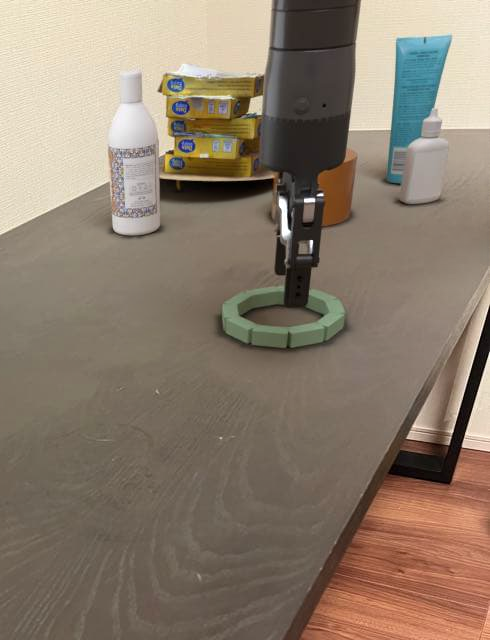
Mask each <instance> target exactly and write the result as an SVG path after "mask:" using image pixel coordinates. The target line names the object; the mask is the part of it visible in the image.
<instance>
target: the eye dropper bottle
mask: <svg viewBox="0 0 490 640" xmlns="http://www.w3.org/2000/svg"><path fill="white" fill-rule="evenodd" d="M442 124H443V118H440V117H439V111H438V107H434V108H432V110H431V113H430V116H429V117H428V118H426V119H424V120H423V126H422V132H421V136H422V137H421V138H419V139H417V140H415V141H413V142H412V143H411V144H410V145H409V146H408V148H407V152H406V158H405V164H404V170H403V176H402V182H401V184H400V187H399V188H400V189H399V195H398V200H399V201H400V202H401V203H403V204H406V205H419V204H420V205H421V204H427V203H428V204H429V203H431V202H435V201H438V200H439V199H440V197H441V193H442V189H443V184H444V178H445V172H446V167H447V163H448V162H447V161H448V155H449V149H450V142H449V141H448V140H447V139H445V138H443V137H440V136H441V135H440V134H441V129H442Z"/></svg>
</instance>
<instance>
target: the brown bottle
mask: <svg viewBox="0 0 490 640" xmlns="http://www.w3.org/2000/svg"><path fill="white" fill-rule="evenodd" d="M357 162H358V152H357V151H356V150H354V149H352V148H349V147H347V149H346V157H345V160H344V162H343V163H342V164H341V165H340V166H339V167H337V168H335V169H332V170H325V171H323V172H321V173H320V174H319V175H318V182H319V190H323V193H324V200H325V206H324V211H323V221H322V227H329V226H332V225H333V226H334V225H337V224H340V223H343V222H345V221H347V220H348V219H349V218H350V216H351V211H352V202H353V193H354V186H355V176H356V170H357ZM277 175H278V172H274V178H272V179H273V180H272V181H273V182H272V195H271V196H272V197H271V210H270V211H271V212H270V213H271V214H270V217H271V219H272V220H273V215H274V211H273V210H274V204H275V197H274V190H275V185H276V184H277Z"/></svg>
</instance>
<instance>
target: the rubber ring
mask: <svg viewBox="0 0 490 640" xmlns="http://www.w3.org/2000/svg"><path fill="white" fill-rule="evenodd" d="M284 286H285V285H278V286H277V287H276V286H275V285H272V286H271V285H270V286H266V287H260V288H254V289H249V290H244V291H240V292H239V293H237V294H235V295H234V296H232V297H231V298H229V299H228V300H225V301H224V302H223V304H222V306H221V307H222V309H221V310H222V311H221V319H222V320H221V321H222V327H223V328H222V329H223V332H225V334H227V335H228V336H230V337H233V338H234V339H236V340H238V341H240V342H243V343H244V344H247V345H248V344H250V345H251V346H259V347H268V348H280V349H286V348H287V347H289V348H290V349H293V348H298V347H305V346H309V345H315V344H321V343H323V342H324V341H325V342H328V341H329V340H330V339H331V338H333V337H334V336H335V335H336V334H338V333H339V332H340V331H342V330H343V329H344V326H345V320H346V311H345V308H344V306H343V304H342V300H341V299H338V297H336V296H334V295H331V294H329V293H326V292H324V291H321V290H319V289H316V288H312V289H311V287H310V288H309V297H308V304H307V305H306V306H305V307H304V308H306V309H308V310H311V311H314V312H316V313H319V314H321V315H323V316H322V317H321V318H319V319H318V320H317V321H315V322H311V323H306V324H300V325H294V326H289V327H288V326H275V325H264V324H258V323H255V322H253V321H252V320H249V319H247V318H244V317H243V316H242V315H244V314H245V313H248V311H250V310H252V309H257V308H258V309H259V308H264V307H269V306H275V305H281V306H285V305H284V302H283V298H284Z"/></svg>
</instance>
